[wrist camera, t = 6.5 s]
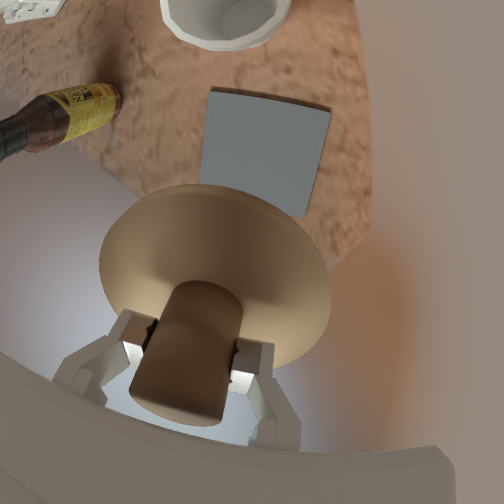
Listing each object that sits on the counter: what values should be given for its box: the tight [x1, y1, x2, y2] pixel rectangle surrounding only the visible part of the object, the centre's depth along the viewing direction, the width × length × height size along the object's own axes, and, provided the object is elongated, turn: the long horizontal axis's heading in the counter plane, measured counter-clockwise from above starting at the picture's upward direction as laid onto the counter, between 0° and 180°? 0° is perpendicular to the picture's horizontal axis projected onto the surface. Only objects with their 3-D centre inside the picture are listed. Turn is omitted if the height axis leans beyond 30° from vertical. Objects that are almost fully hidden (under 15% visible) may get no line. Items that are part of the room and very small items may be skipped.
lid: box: [99, 184, 331, 427], centre depth 11 cm, size 11×11×6 cm
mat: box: [200, 91, 331, 218], centre depth 33 cm, size 14×14×1 cm
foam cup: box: [160, 0, 292, 51], centre depth 18 cm, size 10×9×13 cm
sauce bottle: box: [0, 83, 121, 163], centre depth 22 cm, size 6×6×20 cm
